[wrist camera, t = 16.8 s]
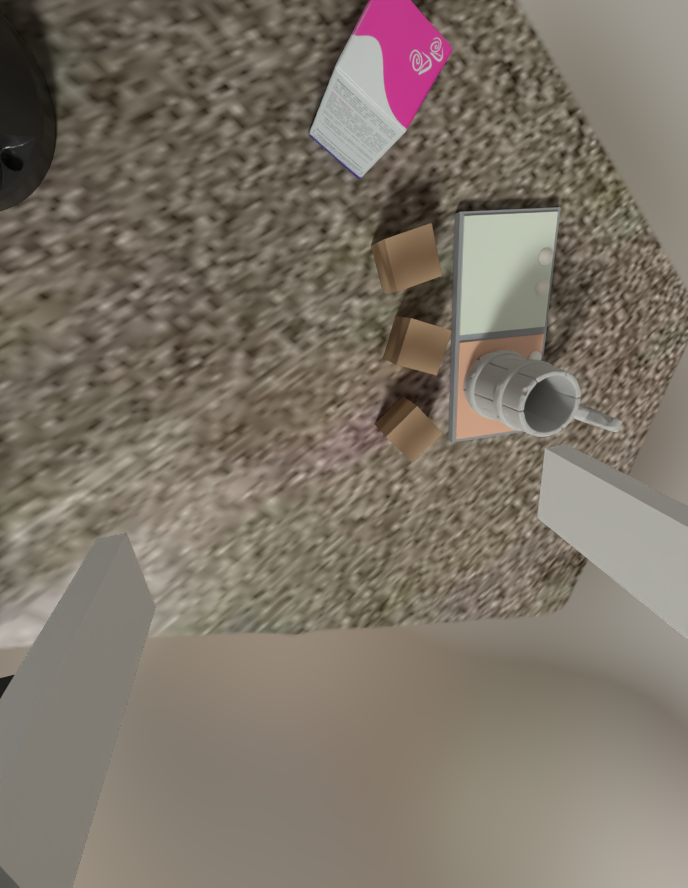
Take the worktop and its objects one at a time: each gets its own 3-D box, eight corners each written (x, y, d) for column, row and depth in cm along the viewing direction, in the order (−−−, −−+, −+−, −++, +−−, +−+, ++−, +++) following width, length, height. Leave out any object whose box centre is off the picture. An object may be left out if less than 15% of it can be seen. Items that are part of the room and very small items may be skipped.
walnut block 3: (374, 423, 45) (386, 436, 41) (402, 395, 44) (417, 405, 40) (398, 447, 47) (412, 462, 42) (426, 421, 46) (442, 433, 42)
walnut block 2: (395, 315, 41) (411, 318, 37) (433, 327, 42) (452, 330, 38) (382, 357, 42) (396, 364, 38) (419, 367, 44) (436, 375, 40)
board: (455, 213, 39) (461, 211, 37) (553, 209, 40) (563, 206, 39) (448, 439, 47) (453, 443, 46) (529, 427, 49) (536, 430, 48)
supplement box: (361, 182, 36) (404, 135, 26) (306, 135, 34) (328, 63, 23) (396, 120, 35) (456, 45, 24) (342, 68, 33) (382, -39, 22)
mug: (475, 339, 42) (552, 355, 31) (560, 368, 46) (656, 391, 35) (450, 405, 45) (513, 442, 34) (532, 428, 48) (614, 468, 37)
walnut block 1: (370, 245, 38) (384, 239, 34) (412, 230, 38) (431, 222, 34) (382, 292, 40) (397, 291, 36) (423, 277, 40) (441, 275, 36)
